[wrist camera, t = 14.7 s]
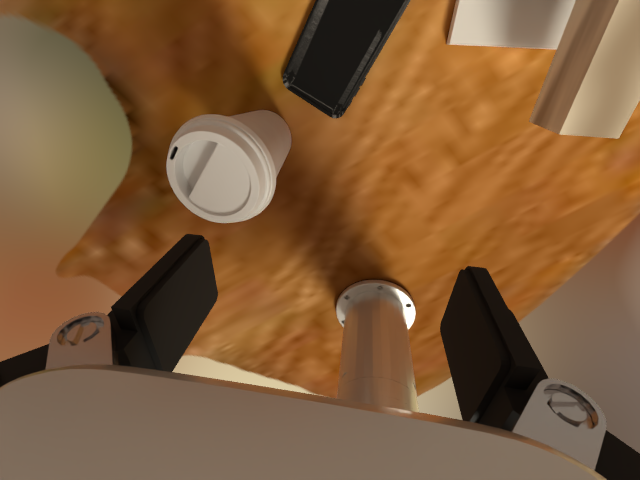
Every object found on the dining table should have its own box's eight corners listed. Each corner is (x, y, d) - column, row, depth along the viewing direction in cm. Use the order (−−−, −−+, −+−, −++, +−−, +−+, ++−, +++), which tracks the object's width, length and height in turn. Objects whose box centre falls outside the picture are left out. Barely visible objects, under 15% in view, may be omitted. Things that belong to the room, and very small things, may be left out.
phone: (279, 83, 33) (354, -88, 26) (281, 82, 34) (355, -83, 26) (339, 123, 35) (428, -29, 27) (340, 121, 36) (426, -26, 28)
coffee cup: (274, 78, 34) (217, 92, 21) (318, 153, 37) (291, 204, 25) (213, 122, 37) (132, 157, 25) (258, 187, 41) (208, 246, 28)
